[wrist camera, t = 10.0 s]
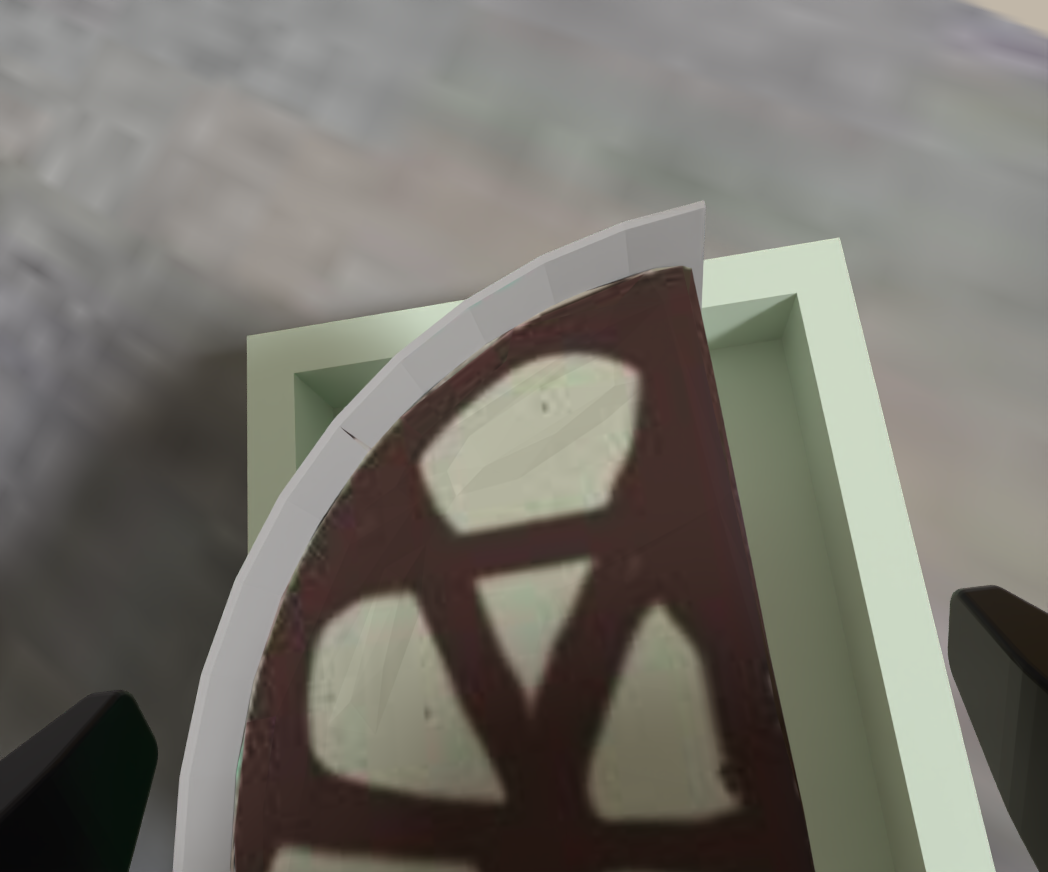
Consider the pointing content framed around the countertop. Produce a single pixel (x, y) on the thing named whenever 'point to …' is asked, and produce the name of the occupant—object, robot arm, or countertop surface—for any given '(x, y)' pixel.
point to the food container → (508, 606)
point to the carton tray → (756, 541)
